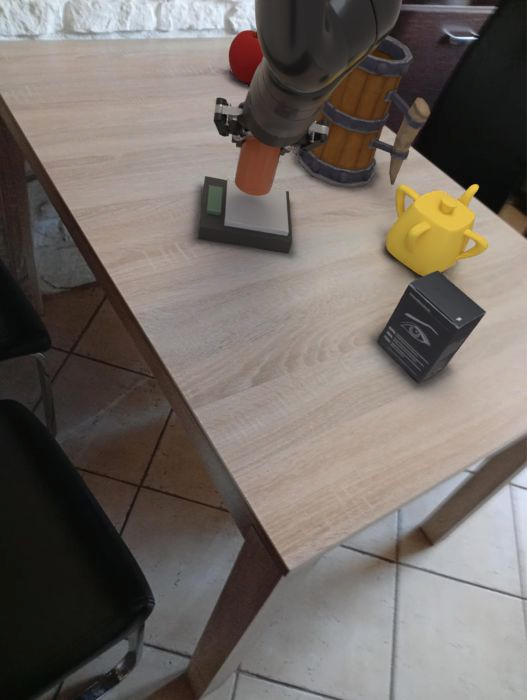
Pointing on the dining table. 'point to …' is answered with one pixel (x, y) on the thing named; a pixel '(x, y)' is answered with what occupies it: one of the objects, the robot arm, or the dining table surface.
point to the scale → (245, 216)
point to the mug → (366, 120)
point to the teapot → (433, 230)
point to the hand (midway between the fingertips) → (260, 143)
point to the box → (429, 325)
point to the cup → (256, 167)
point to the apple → (245, 55)
